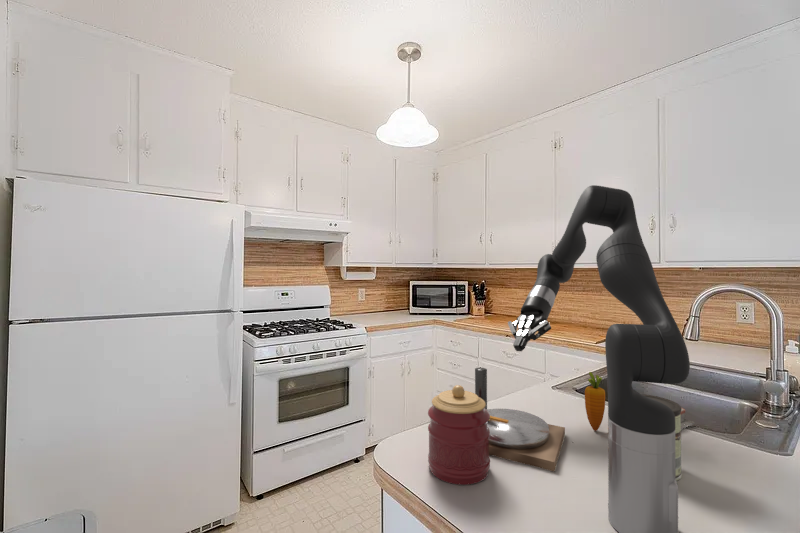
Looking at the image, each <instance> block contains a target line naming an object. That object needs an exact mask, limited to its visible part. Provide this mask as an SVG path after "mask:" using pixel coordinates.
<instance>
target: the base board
mask: <svg viewBox="0 0 800 533" xmlns="http://www.w3.org/2000/svg"><path fill="white" fill-rule="evenodd" d="M547 424H548V426H549V440H548V441H547V442H546V443H545V444H544V445H542V446H539V447H535V448H529V449H513V448H506V447H501V446H497V445H494V444H491V443H489V456H492V457H495V458H496V457H497V458H500V459H504V460H508V461H510V462H511V461H512V462H515V463H520V464H523V465H527V466H530V467H535V468H538V469H543V470H546V471H550V472H555V471H556V468H557V464H558V460H559V458H560V454H561V451H562V448H563V443H564V440H565V436H566V427H564V426H560V425H554V424H550V423H547Z"/></svg>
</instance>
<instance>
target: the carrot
mask: <svg viewBox="0 0 800 533" xmlns="http://www.w3.org/2000/svg"><path fill="white" fill-rule="evenodd" d="M588 375H589V376H590V377H589V378H588V379H587V381H588V383H589V384H590V385H588V386H586V388H585V389H584V405H585V406H584V407H585V412H586V417H587V419H588V422H589V425H590V427H591V429H592V430H593V431H594V432H597V431H599V430H598V429H600V427H601V424H602V422H603V418H604V415H605V414H604V413H605V411H606V410H605V409H606V390H605V389H604V388H602V387H600V386H599V385H600V383H601V382H602V380H603V378H602V377H601V376H600V375H598V374H596V375H594V374H593V372H592V371H589V372H588Z"/></svg>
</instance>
